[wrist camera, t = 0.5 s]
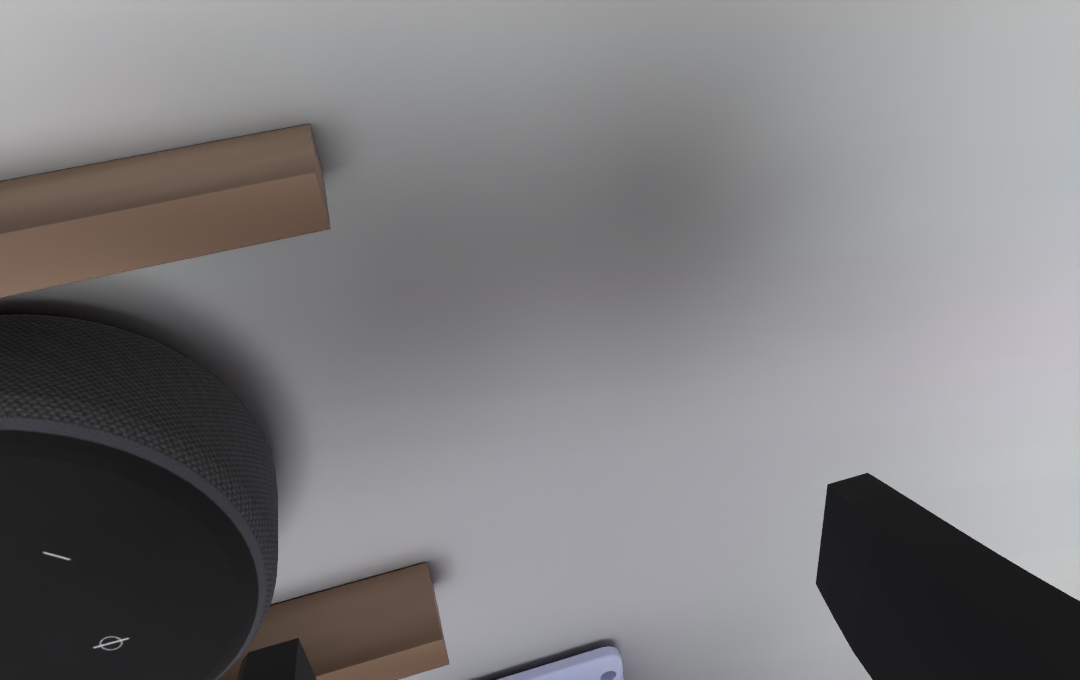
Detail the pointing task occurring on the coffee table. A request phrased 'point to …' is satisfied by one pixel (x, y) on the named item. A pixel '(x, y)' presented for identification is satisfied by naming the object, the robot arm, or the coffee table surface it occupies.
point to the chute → (195, 230)
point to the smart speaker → (126, 509)
